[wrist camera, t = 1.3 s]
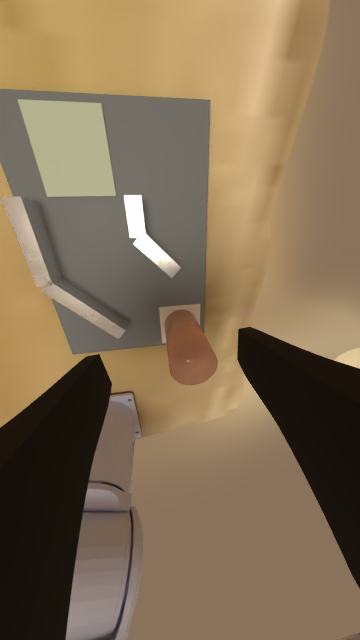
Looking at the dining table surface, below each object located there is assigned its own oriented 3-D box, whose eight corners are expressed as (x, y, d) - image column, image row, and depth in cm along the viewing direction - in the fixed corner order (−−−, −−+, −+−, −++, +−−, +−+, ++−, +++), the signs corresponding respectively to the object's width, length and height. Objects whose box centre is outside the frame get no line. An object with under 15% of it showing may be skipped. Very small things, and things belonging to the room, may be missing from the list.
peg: (196, 336, 20) (216, 381, 14) (165, 340, 20) (171, 387, 13) (196, 308, 18) (218, 343, 12) (163, 311, 18) (168, 349, 12)
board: (202, 338, 21) (203, 341, 20) (74, 352, 19) (72, 355, 19) (208, 103, 12) (211, 97, 12) (-22, 92, 11) (-31, 84, 10)
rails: (180, 323, 19) (183, 332, 17) (69, 334, 18) (60, 345, 16) (175, 200, 14) (178, 194, 12) (21, 202, 13) (0, 196, 11)
